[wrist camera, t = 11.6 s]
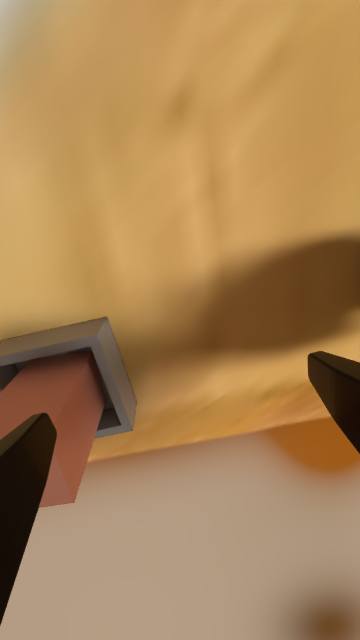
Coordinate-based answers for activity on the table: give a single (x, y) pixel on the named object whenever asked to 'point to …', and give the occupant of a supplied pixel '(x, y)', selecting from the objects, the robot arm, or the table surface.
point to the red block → (58, 414)
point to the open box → (93, 335)
